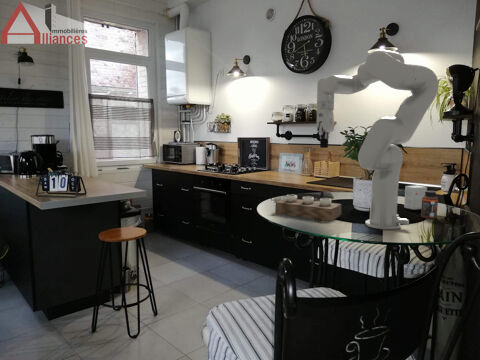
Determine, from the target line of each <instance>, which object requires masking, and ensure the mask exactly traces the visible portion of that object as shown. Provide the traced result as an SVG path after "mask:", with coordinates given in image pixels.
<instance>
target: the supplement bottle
mask: <svg viewBox="0 0 480 360" xmlns="http://www.w3.org/2000/svg"><path fill="white" fill-rule="evenodd" d="M438 203H439V197H438V196H437V191H435V190H427V191H425V196H423V197H422V208H421V209H420V210H421V212H420V217H422V218H424V219H429V220H434V219H437V217H438V205H439V204H438Z"/></svg>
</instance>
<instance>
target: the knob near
mask: <svg viewBox="0 0 480 360" xmlns="http://www.w3.org/2000/svg"><path fill="white" fill-rule="evenodd" d="M319 202H320V205H322V206H331V203H332V199H331V198H327V197H321V198H319Z"/></svg>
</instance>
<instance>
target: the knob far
mask: <svg viewBox="0 0 480 360" xmlns="http://www.w3.org/2000/svg"><path fill="white" fill-rule="evenodd" d="M285 199H286V201H288V202H296V201H297V199H298V195H296V194H286V197H285Z"/></svg>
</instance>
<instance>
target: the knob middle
mask: <svg viewBox="0 0 480 360" xmlns="http://www.w3.org/2000/svg"><path fill="white" fill-rule="evenodd" d="M302 200H303V202H302V203H305V204H313V203H314V201H315V198H314V196H309V195H307V196H306V195H305V196H302Z"/></svg>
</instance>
